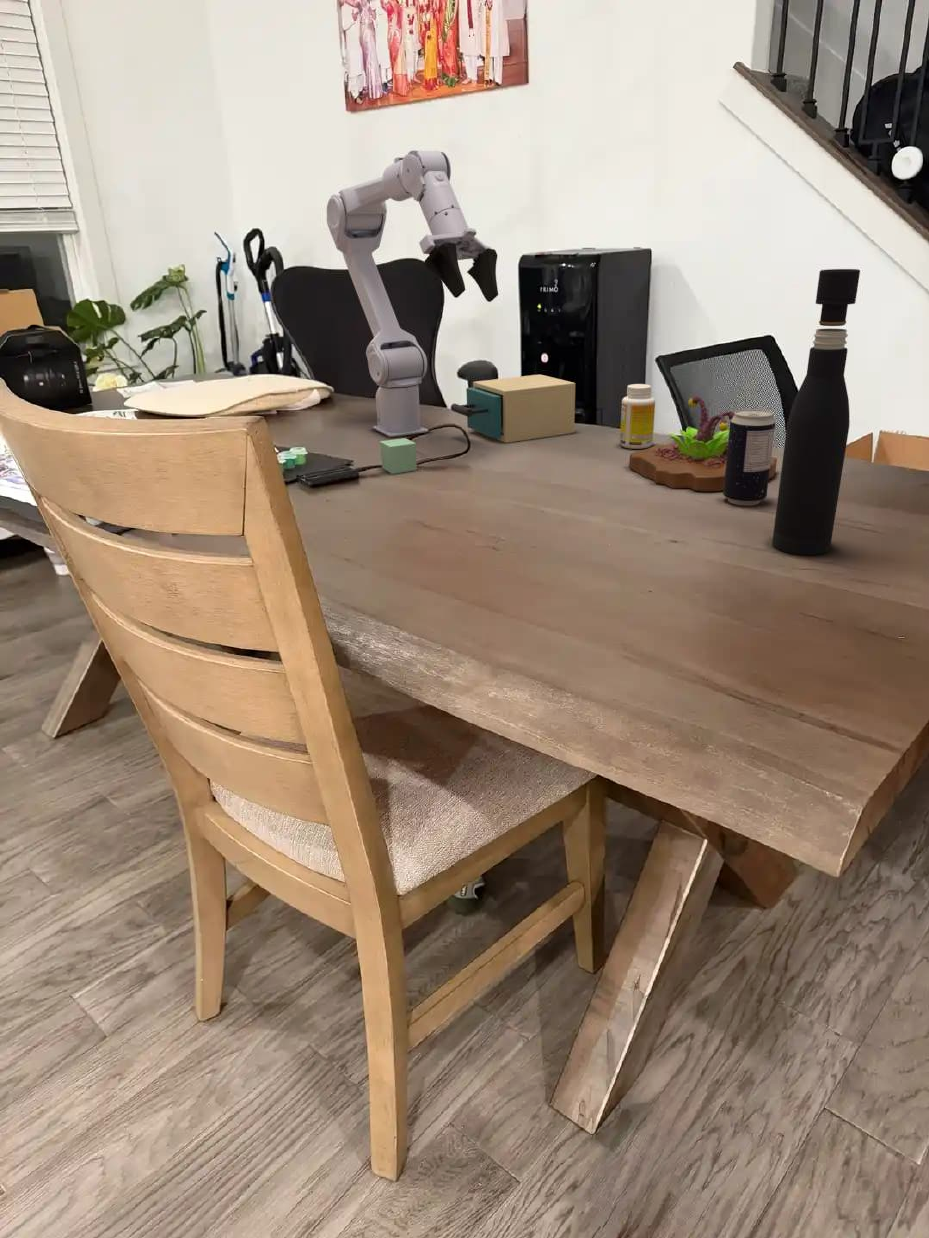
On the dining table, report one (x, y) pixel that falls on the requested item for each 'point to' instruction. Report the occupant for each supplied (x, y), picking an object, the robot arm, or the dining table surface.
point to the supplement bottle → (637, 417)
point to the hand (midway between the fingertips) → (476, 296)
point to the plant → (691, 456)
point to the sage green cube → (398, 455)
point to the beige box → (533, 406)
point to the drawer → (483, 411)
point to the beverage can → (749, 456)
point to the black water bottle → (817, 429)
